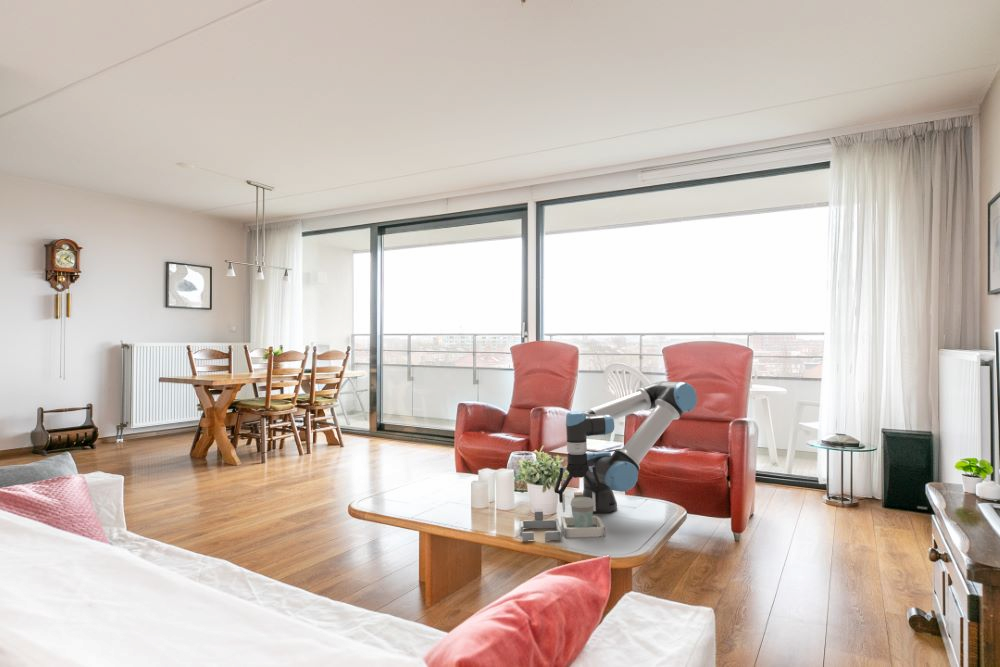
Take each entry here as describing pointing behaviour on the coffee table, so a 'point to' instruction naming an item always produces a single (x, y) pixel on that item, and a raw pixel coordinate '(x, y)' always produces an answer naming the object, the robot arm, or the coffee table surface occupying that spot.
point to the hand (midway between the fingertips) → (579, 510)
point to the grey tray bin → (584, 530)
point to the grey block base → (540, 524)
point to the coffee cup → (582, 511)
